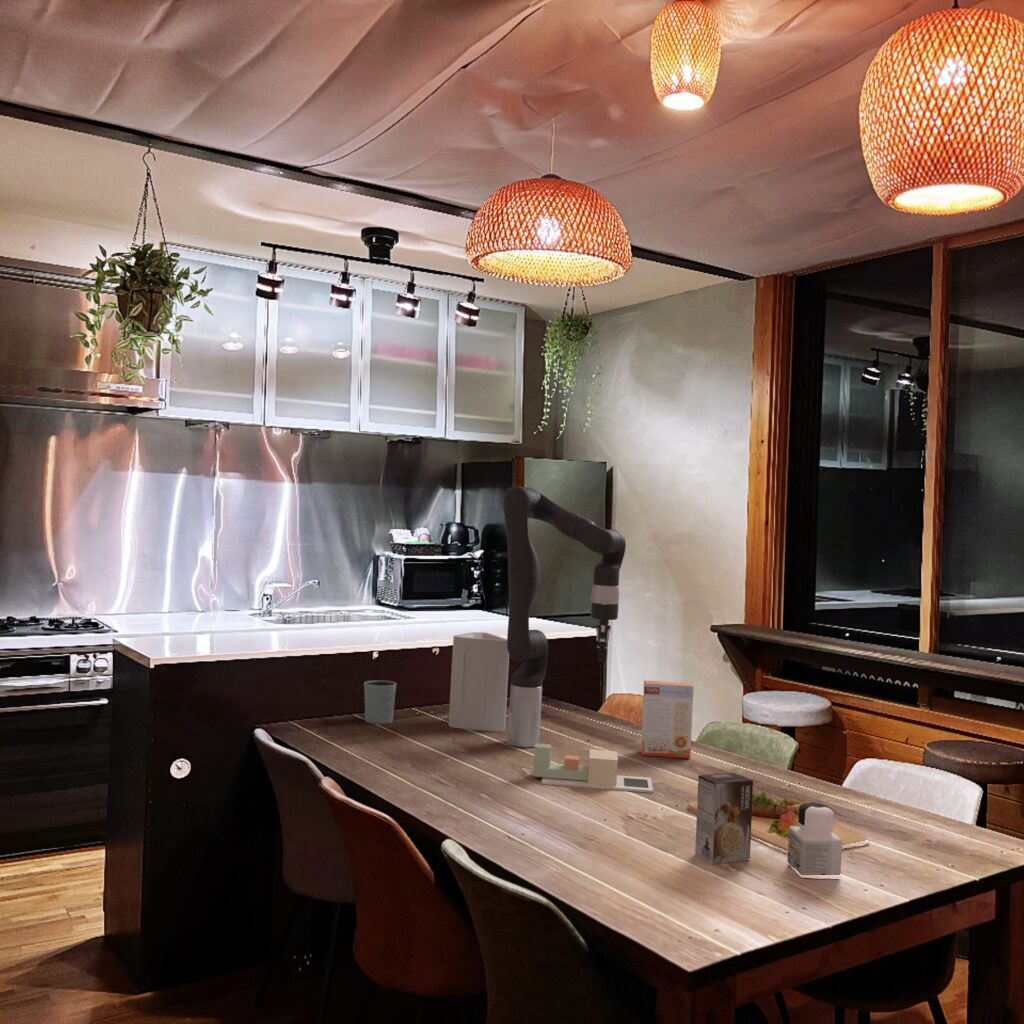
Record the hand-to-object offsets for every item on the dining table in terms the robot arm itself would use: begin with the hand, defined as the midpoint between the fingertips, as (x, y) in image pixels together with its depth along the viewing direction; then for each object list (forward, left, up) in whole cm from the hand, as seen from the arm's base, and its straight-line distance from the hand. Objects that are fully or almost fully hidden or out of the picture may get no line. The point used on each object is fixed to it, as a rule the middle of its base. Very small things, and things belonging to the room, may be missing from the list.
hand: (601, 659), depth 266 cm
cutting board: (+40, -46, -29) cm, 68 cm away
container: (+43, -75, -28) cm, 91 cm away
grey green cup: (-68, +29, -28) cm, 79 cm away
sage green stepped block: (-9, -22, -27) cm, 36 cm away
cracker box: (+20, +13, -28) cm, 36 cm away
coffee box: (+26, -71, -28) cm, 81 cm away
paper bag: (-39, +33, -28) cm, 58 cm away
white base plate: (0, -22, -28) cm, 36 cm away
